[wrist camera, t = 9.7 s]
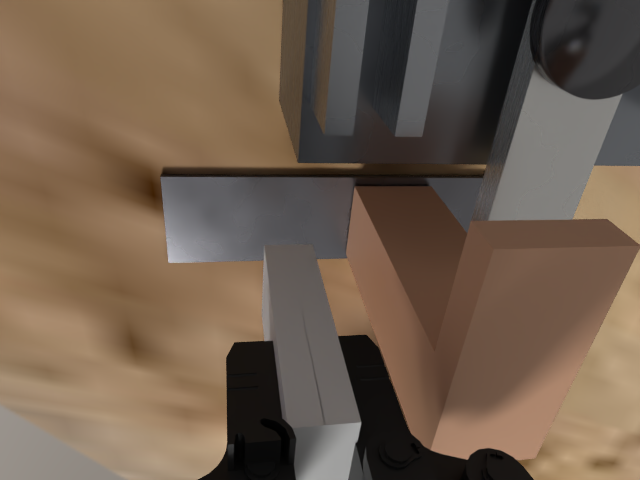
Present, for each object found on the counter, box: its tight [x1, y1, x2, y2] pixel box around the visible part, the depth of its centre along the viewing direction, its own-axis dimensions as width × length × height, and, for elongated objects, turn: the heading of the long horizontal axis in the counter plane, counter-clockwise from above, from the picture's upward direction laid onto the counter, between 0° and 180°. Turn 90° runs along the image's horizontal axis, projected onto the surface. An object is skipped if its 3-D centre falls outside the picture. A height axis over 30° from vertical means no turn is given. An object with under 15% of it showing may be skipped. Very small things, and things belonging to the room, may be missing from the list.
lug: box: [346, 186, 640, 460], centre depth 15 cm, size 6×3×10 cm, turn 175°
